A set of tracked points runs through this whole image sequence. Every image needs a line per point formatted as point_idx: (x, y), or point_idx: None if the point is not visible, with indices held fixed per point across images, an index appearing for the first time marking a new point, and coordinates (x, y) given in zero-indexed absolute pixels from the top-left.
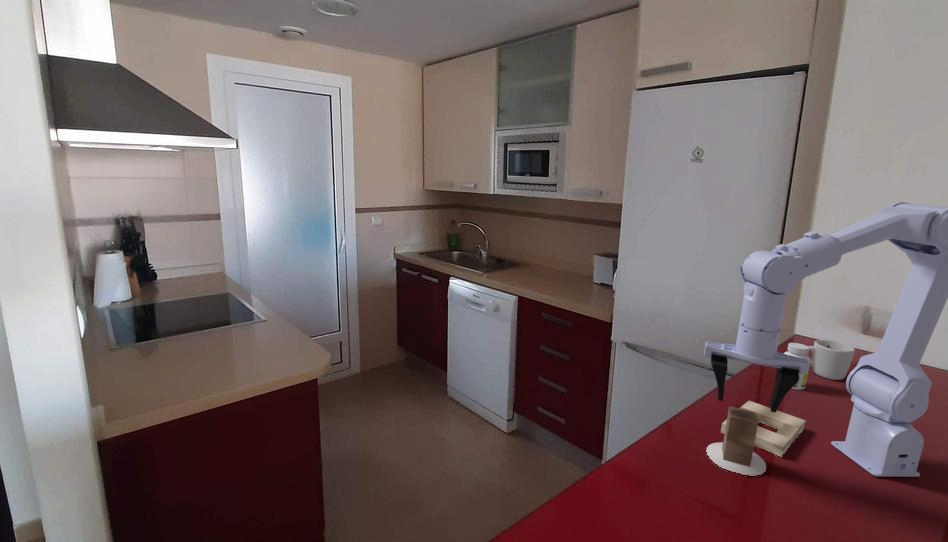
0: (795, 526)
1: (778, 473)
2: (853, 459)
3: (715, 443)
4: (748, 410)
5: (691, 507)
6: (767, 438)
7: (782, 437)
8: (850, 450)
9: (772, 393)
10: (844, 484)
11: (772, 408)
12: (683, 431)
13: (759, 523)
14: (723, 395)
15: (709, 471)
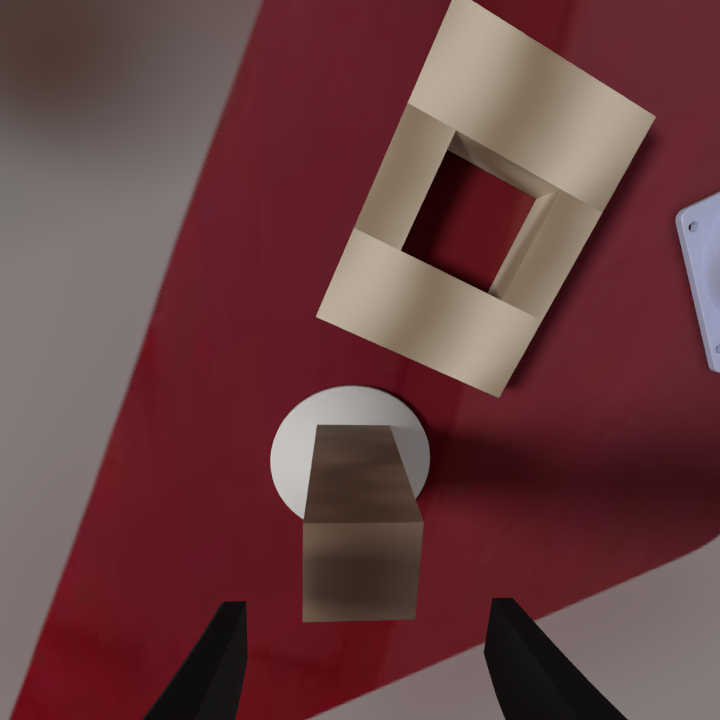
0: (443, 642)
1: (455, 470)
2: (698, 306)
3: (297, 410)
4: (391, 523)
5: (245, 682)
6: (461, 359)
7: (516, 325)
8: (717, 281)
9: (539, 673)
10: (609, 443)
11: (494, 680)
12: (196, 364)
13: (375, 665)
14: (235, 712)
15: (281, 544)
